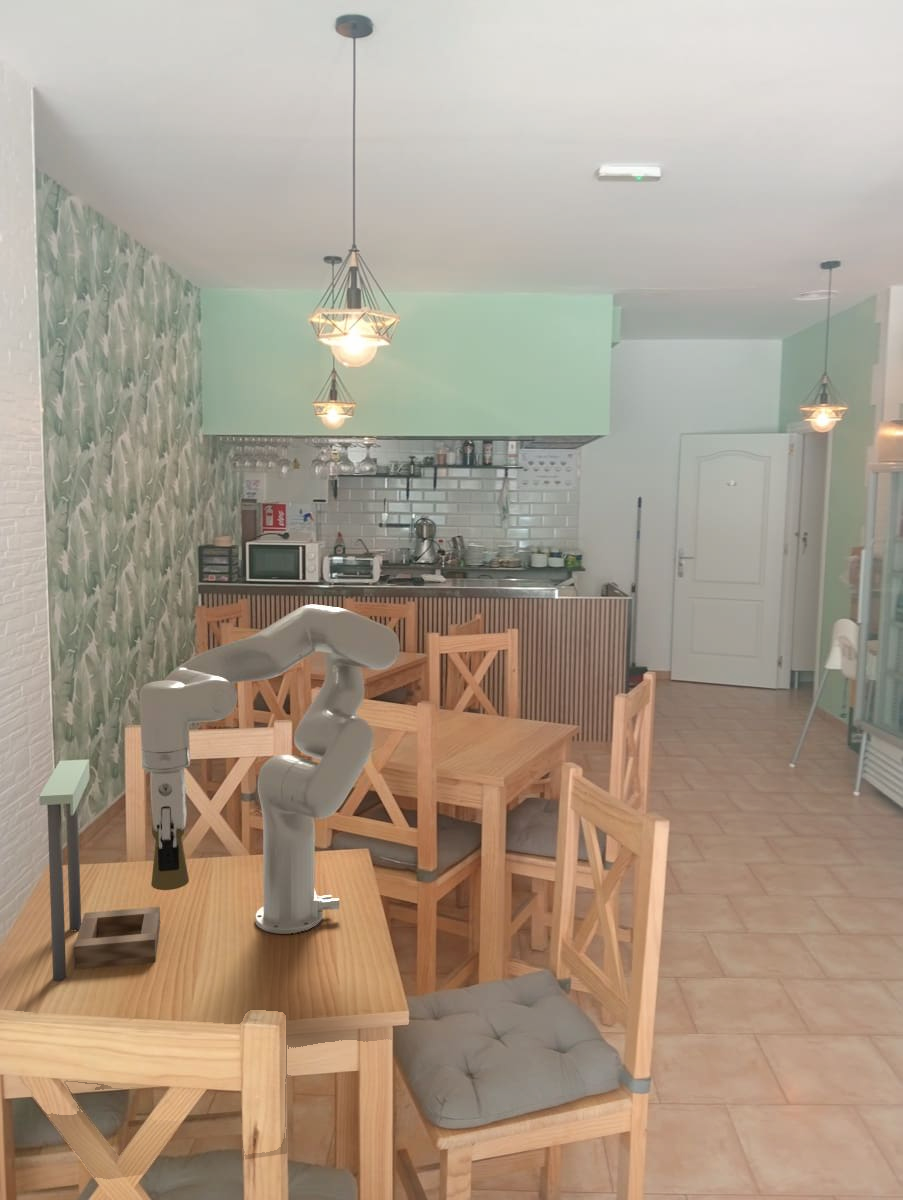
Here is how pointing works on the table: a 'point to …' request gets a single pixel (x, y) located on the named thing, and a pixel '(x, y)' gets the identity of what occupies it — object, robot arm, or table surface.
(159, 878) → the olive pawn
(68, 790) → the stand
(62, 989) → the table surface
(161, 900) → the table surface
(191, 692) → the robot arm
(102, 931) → the socket block
